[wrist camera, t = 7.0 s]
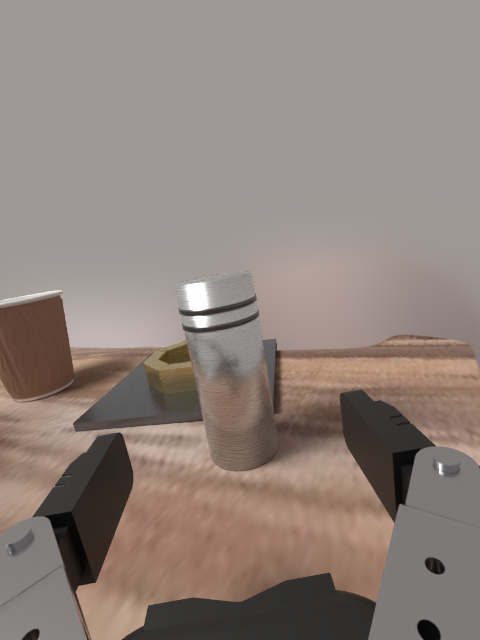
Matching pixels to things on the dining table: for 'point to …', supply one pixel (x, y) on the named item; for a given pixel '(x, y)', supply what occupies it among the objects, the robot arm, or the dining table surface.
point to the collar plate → (158, 392)
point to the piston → (229, 368)
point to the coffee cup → (34, 346)
